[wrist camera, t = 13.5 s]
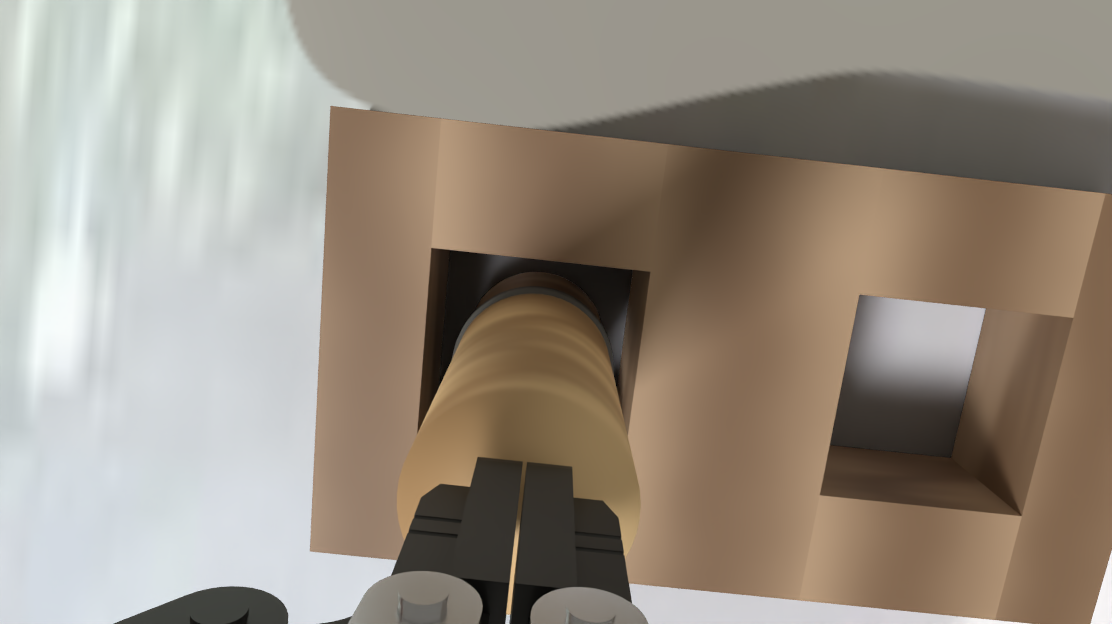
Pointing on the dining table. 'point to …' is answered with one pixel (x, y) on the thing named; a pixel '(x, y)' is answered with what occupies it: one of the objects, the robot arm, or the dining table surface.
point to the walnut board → (744, 357)
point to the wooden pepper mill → (528, 402)
